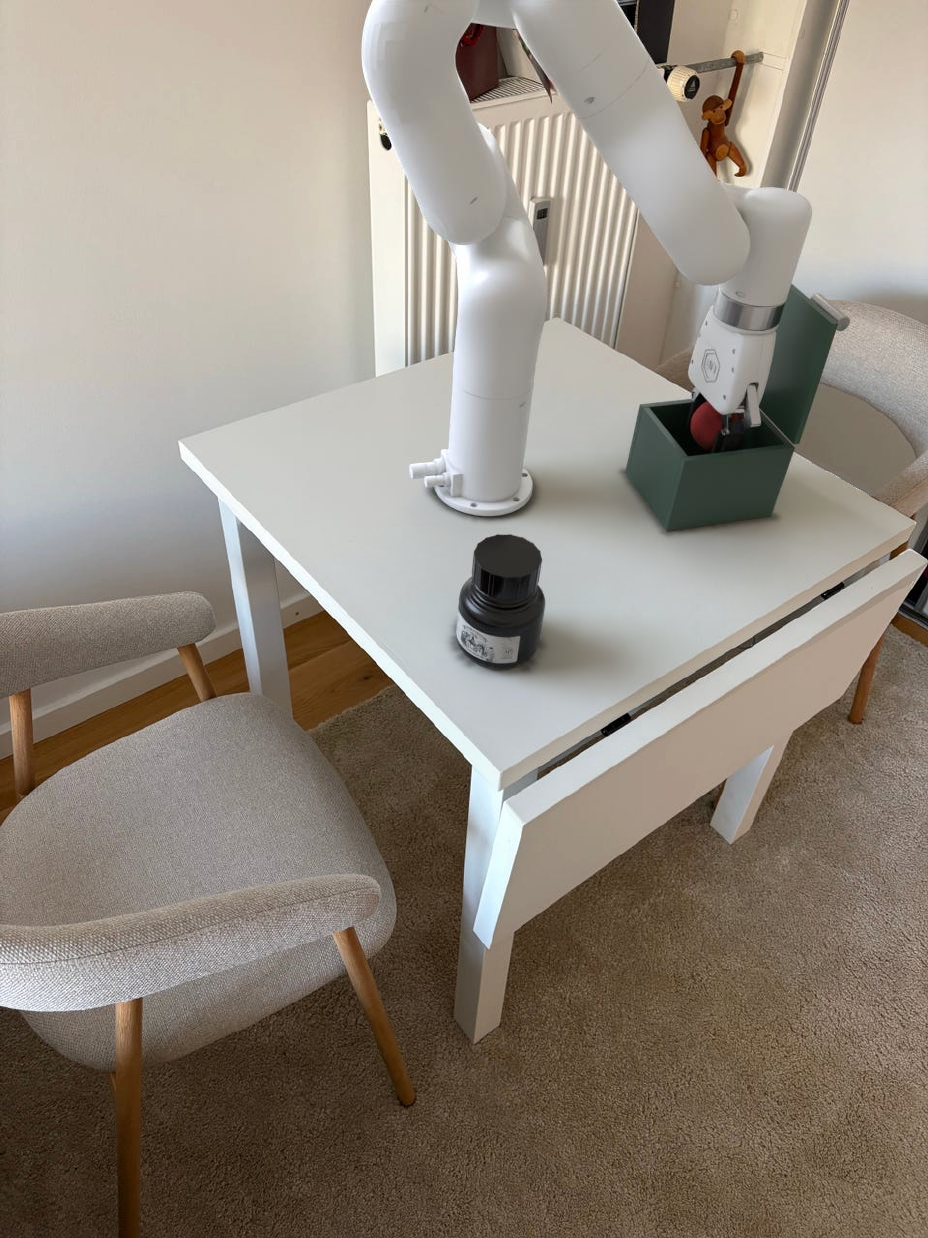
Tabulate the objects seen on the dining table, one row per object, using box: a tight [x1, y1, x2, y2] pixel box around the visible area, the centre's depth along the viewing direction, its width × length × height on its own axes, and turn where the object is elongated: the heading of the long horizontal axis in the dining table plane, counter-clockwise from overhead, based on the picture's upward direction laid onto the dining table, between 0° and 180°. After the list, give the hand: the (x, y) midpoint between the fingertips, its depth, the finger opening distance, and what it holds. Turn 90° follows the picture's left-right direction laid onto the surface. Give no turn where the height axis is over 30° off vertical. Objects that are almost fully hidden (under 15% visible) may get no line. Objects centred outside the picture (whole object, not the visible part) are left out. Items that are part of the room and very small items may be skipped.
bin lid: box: [759, 282, 851, 446], centre depth 118 cm, size 16×13×5 cm
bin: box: [624, 398, 796, 532], centre depth 124 cm, size 15×13×10 cm
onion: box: [691, 401, 738, 452], centre depth 121 cm, size 6×6×8 cm
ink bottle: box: [455, 533, 546, 670], centre depth 102 cm, size 10×9×12 cm
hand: (709, 442), depth 123 cm, fingers closed on onion, 5 cm apart
